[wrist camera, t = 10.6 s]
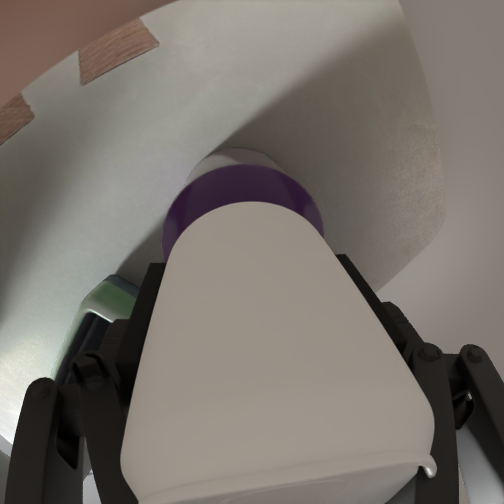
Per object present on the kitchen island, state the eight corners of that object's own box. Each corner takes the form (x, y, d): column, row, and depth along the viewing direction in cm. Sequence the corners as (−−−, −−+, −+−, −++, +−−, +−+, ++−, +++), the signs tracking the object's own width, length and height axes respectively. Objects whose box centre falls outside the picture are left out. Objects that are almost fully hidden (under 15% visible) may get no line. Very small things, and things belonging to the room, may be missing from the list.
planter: (89, 410, 39) (78, 448, 32) (48, 388, 36) (33, 424, 30) (170, 293, 30) (159, 342, 24) (108, 256, 28) (82, 297, 22)
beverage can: (319, 183, 14) (514, 380, 3) (329, 320, 18) (410, 511, 7) (147, 217, 14) (31, 466, 3) (192, 346, 18) (185, 552, 7)
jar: (291, 252, 30) (316, 308, 22) (184, 257, 29) (172, 316, 21) (295, 145, 25) (329, 164, 17) (175, 148, 24) (152, 169, 16)
